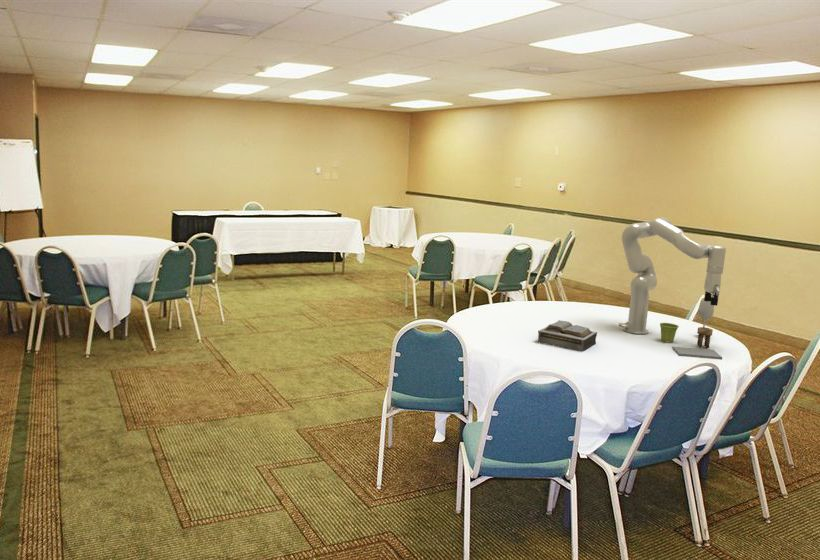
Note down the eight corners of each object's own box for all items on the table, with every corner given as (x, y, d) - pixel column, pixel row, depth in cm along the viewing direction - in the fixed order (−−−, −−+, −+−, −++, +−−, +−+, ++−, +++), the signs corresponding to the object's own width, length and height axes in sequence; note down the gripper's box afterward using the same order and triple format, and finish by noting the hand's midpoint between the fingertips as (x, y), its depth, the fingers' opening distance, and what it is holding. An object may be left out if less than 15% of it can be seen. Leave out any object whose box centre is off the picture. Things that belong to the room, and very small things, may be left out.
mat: (678, 355, 319) (679, 353, 318) (672, 348, 331) (672, 346, 331) (721, 359, 316) (722, 357, 316) (713, 351, 329) (713, 349, 329)
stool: (697, 348, 333) (700, 330, 332) (693, 344, 340) (696, 326, 339) (712, 349, 333) (714, 331, 331) (707, 345, 339) (710, 327, 338)
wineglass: (711, 339, 353) (716, 301, 349) (696, 338, 354) (701, 300, 350) (708, 335, 360) (713, 298, 356) (693, 334, 361) (698, 297, 358)
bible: (556, 334, 349) (558, 316, 348) (602, 345, 331) (604, 327, 329) (531, 341, 333) (532, 322, 331) (578, 354, 314) (580, 334, 313)
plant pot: (676, 339, 348) (678, 324, 347) (677, 344, 339) (679, 328, 338) (657, 337, 351) (659, 321, 350) (658, 341, 342) (659, 325, 341)
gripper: (701, 267, 339) (697, 299, 342) (712, 272, 322) (708, 306, 325) (716, 267, 339) (712, 300, 342) (728, 273, 322) (724, 307, 325)
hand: (710, 303), depth 334 cm, fingers open, 9 cm apart
